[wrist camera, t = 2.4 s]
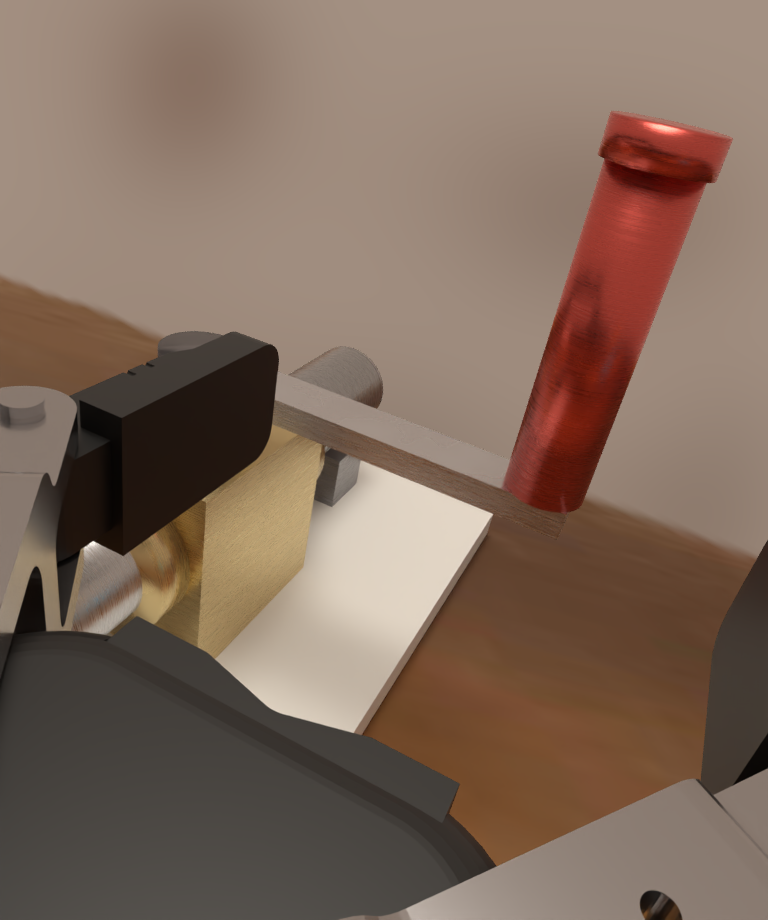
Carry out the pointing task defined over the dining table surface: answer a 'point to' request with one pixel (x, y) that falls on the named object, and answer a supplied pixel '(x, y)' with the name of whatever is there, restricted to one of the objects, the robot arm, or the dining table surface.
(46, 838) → the robot arm
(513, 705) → the dining table surface
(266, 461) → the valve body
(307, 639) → the mounting board
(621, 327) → the lever
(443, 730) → the dining table surface
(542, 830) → the dining table surface
